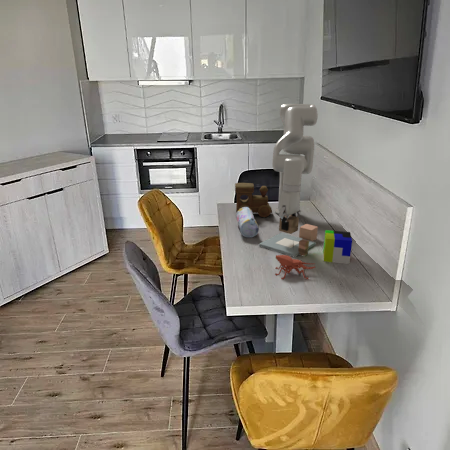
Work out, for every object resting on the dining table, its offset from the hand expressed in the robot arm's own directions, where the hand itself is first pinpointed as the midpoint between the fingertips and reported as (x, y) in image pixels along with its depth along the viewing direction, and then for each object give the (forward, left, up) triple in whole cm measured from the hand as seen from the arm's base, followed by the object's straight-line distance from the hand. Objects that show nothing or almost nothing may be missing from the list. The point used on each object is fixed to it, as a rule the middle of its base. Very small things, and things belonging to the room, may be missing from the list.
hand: (288, 227), depth 174 cm
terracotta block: (-13, +3, -9) cm, 16 cm away
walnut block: (0, 0, -1) cm, 1 cm away
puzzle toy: (-2, +22, -9) cm, 24 cm away
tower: (+4, +10, -8) cm, 14 cm away
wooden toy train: (-25, -37, -9) cm, 46 cm away
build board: (0, 0, -8) cm, 8 cm away
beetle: (+21, +16, -9) cm, 28 cm away
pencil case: (-3, -25, -9) cm, 27 cm away
